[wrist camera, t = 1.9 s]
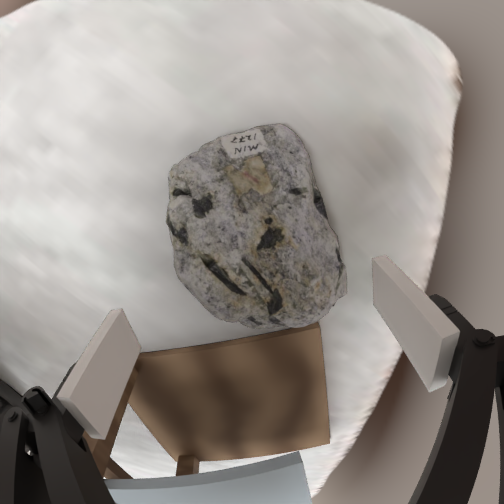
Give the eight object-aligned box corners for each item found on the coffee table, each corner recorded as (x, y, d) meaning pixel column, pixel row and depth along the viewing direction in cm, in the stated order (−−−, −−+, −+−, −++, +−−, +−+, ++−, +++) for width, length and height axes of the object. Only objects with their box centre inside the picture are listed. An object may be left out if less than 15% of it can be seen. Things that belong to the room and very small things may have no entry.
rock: (343, 288, 25) (373, 335, 18) (233, 327, 26) (230, 383, 19) (288, 116, 20) (308, 101, 13) (160, 166, 21) (124, 175, 14)
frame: (174, 457, 34) (161, 545, 20) (100, 356, 27) (44, 474, 13) (328, 438, 33) (351, 534, 19) (317, 322, 26) (371, 473, 11)
